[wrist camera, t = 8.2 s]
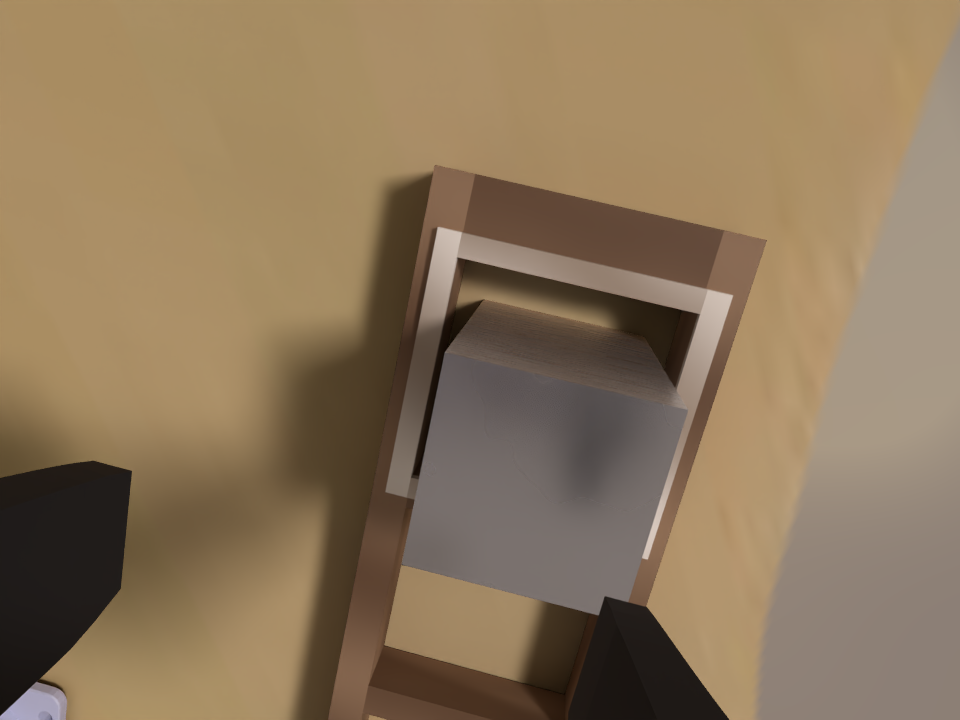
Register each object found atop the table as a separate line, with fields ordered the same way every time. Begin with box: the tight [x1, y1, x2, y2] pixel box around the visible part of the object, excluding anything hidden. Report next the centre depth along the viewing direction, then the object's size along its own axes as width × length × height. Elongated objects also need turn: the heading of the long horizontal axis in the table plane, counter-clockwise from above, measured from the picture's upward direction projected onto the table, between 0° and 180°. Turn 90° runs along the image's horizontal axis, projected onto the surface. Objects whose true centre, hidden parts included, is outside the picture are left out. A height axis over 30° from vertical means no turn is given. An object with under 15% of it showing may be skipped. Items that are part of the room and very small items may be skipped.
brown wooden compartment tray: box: [328, 165, 767, 720], centre depth 19 cm, size 24×8×2 cm, turn 168°
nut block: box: [402, 299, 688, 615], centre depth 16 cm, size 4×4×6 cm
